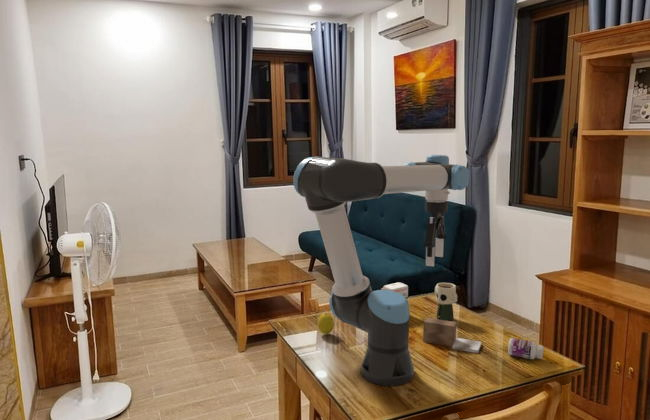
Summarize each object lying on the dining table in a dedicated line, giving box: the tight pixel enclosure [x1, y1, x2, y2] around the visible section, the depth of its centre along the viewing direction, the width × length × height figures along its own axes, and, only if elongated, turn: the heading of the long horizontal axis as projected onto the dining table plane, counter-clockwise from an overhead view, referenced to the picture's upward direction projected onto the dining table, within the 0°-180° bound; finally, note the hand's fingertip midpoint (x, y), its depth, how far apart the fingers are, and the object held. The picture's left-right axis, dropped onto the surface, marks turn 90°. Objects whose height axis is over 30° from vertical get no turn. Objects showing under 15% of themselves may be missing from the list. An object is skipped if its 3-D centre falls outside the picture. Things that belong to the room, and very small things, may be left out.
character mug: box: [434, 282, 458, 321], centre depth 185 cm, size 11×7×13 cm, turn 32°
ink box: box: [382, 281, 409, 302], centre depth 189 cm, size 8×5×12 cm, turn 123°
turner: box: [422, 317, 482, 354], centre depth 164 cm, size 18×7×7 cm, turn 65°
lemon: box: [317, 312, 335, 336], centre depth 171 cm, size 6×6×8 cm
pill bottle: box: [507, 337, 544, 360], centre depth 154 cm, size 5×5×10 cm
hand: (434, 261), depth 173 cm, fingers open, 13 cm apart
